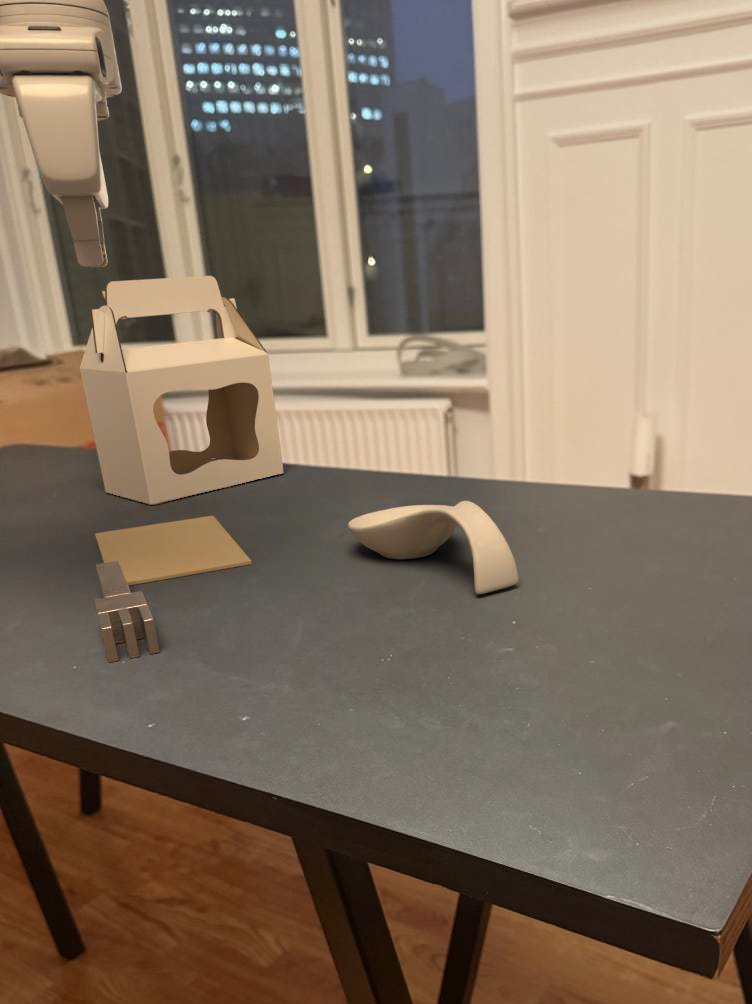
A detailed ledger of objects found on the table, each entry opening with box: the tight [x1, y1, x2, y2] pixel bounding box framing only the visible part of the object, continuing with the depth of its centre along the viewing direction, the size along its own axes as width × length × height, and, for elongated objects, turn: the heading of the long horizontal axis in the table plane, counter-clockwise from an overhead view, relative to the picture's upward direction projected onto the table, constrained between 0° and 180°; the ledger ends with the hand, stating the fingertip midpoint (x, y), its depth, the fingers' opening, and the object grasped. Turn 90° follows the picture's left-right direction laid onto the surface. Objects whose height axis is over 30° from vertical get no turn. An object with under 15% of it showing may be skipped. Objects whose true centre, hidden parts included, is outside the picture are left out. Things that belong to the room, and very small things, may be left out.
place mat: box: [94, 515, 253, 587], centre depth 103 cm, size 22×14×1 cm, turn 25°
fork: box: [93, 561, 161, 663], centre depth 82 cm, size 19×4×3 cm, turn 25°
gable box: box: [79, 275, 285, 506], centre depth 129 cm, size 22×13×28 cm, turn 137°
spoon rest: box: [347, 500, 520, 595], centre depth 93 cm, size 24×12×7 cm, turn 34°
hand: (94, 266), depth 73 cm, fingers open, 8 cm apart
